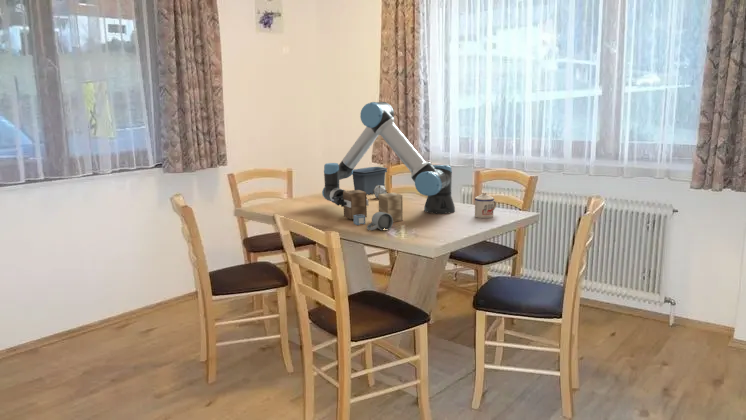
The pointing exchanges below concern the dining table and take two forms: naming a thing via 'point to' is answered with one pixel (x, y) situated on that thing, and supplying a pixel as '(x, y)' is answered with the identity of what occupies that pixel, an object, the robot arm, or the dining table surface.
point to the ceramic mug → (381, 221)
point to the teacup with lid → (484, 206)
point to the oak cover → (391, 205)
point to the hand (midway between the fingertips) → (359, 203)
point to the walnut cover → (355, 203)
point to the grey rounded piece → (379, 190)
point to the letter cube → (359, 219)
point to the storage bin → (368, 178)
